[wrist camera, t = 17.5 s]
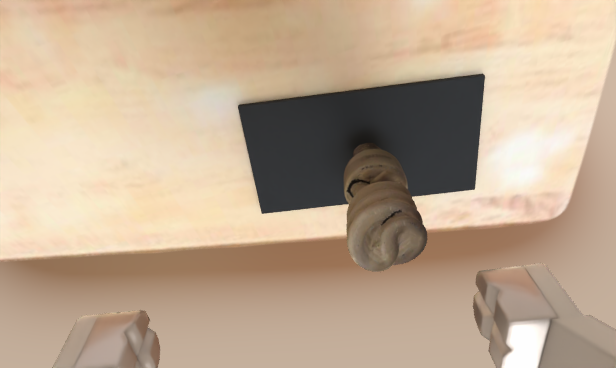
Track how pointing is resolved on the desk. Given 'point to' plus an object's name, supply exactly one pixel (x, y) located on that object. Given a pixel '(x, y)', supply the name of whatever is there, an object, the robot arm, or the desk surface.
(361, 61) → the desk surface
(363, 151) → the light bulb
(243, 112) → the mat
